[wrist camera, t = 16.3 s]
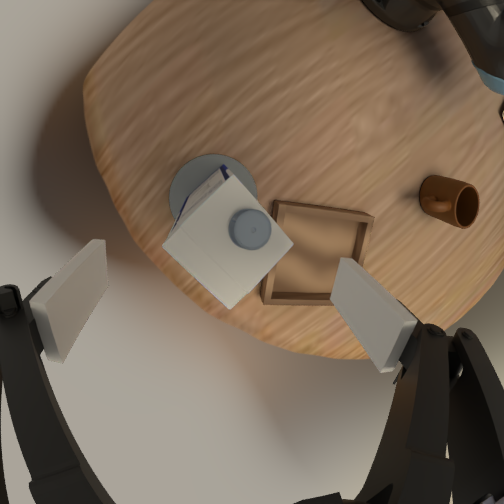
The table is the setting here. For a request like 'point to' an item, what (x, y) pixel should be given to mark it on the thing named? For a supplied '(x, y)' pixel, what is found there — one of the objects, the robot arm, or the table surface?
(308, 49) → the table surface
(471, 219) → the mug
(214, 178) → the milk carton
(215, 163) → the mat
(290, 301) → the crate
